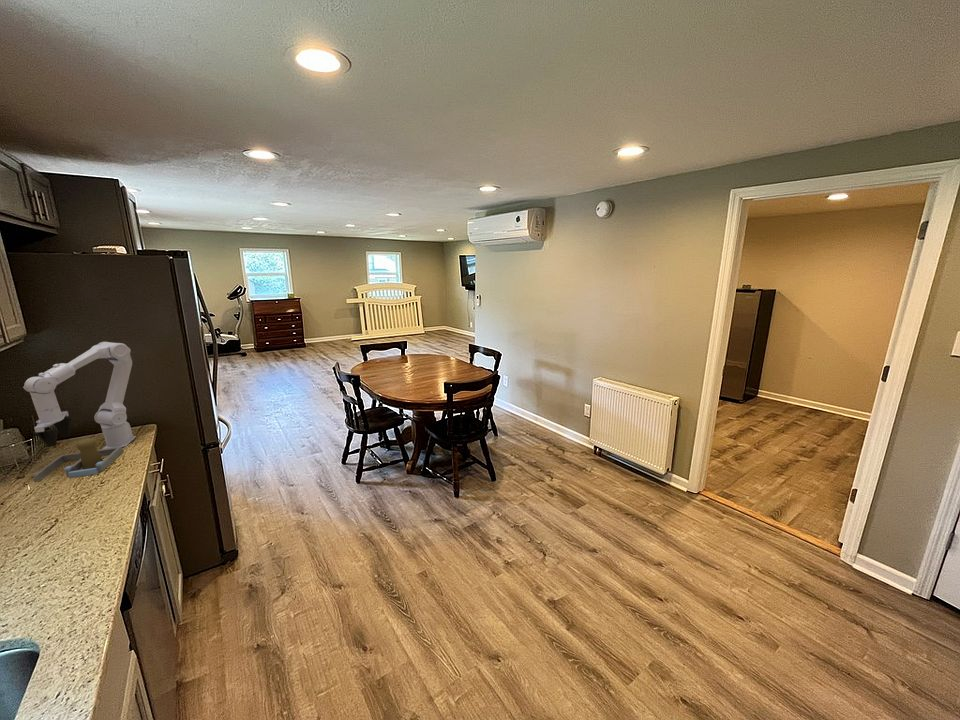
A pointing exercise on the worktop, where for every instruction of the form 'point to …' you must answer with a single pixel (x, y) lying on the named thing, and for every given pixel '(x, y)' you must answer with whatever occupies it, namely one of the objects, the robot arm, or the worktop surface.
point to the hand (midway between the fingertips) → (59, 441)
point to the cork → (88, 453)
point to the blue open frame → (79, 464)
